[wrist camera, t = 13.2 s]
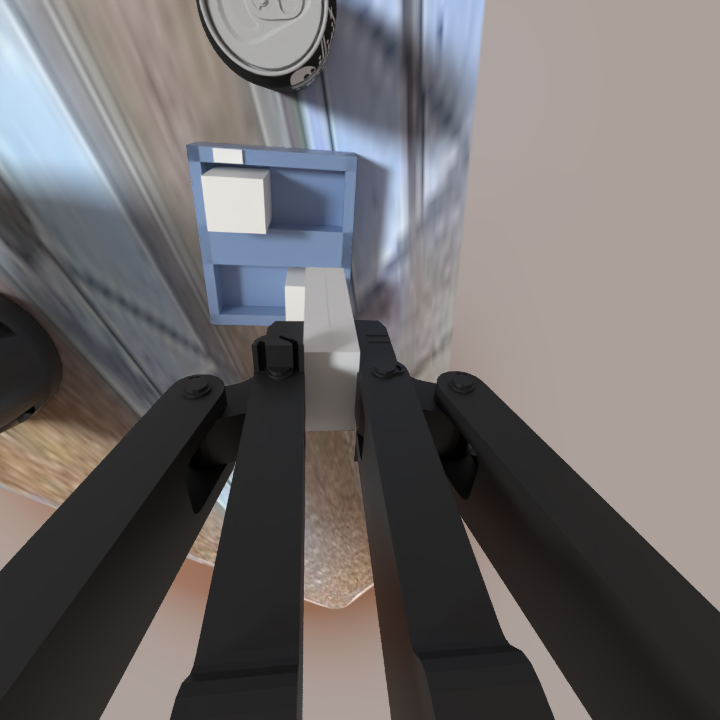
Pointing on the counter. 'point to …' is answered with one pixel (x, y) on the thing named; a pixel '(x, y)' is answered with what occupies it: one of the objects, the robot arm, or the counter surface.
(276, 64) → the beverage can
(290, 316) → the white block
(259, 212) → the tab near
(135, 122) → the counter surface
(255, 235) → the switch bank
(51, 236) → the counter surface
